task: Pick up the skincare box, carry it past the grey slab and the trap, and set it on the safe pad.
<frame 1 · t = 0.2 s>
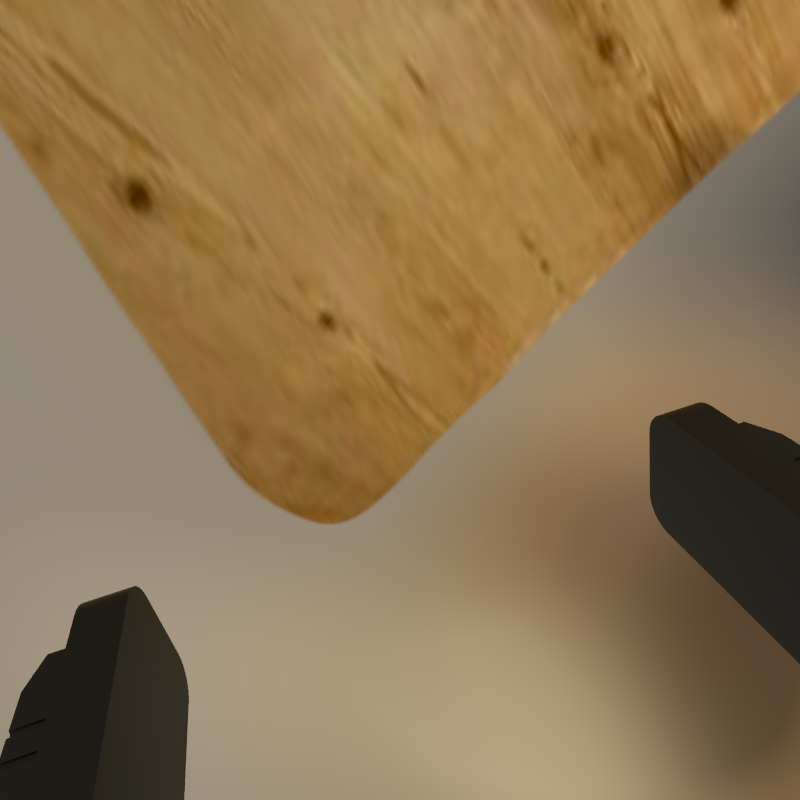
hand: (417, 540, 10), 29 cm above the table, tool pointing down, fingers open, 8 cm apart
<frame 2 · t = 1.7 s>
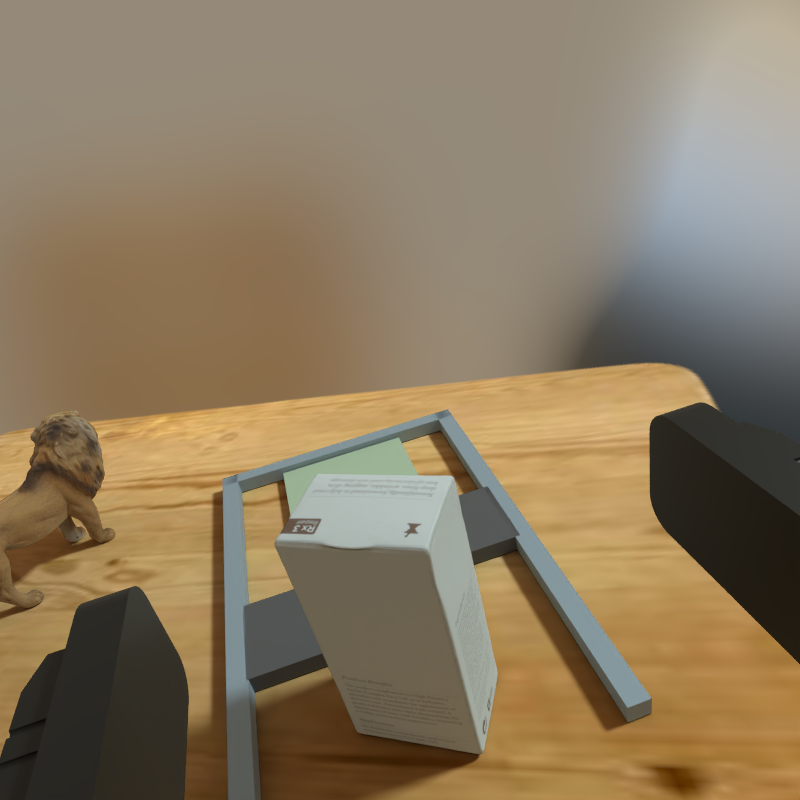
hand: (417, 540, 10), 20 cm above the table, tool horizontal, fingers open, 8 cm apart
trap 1: (295, 637, 34), on the table
lion figurine: (57, 565, 44), on the table
skincare box: (426, 709, 29), on the table
grey slab 2: (466, 534, 38), resting in lane rails
lane rails: (381, 573, 37), on the table
safe pad: (354, 495, 44), resting in lane rails
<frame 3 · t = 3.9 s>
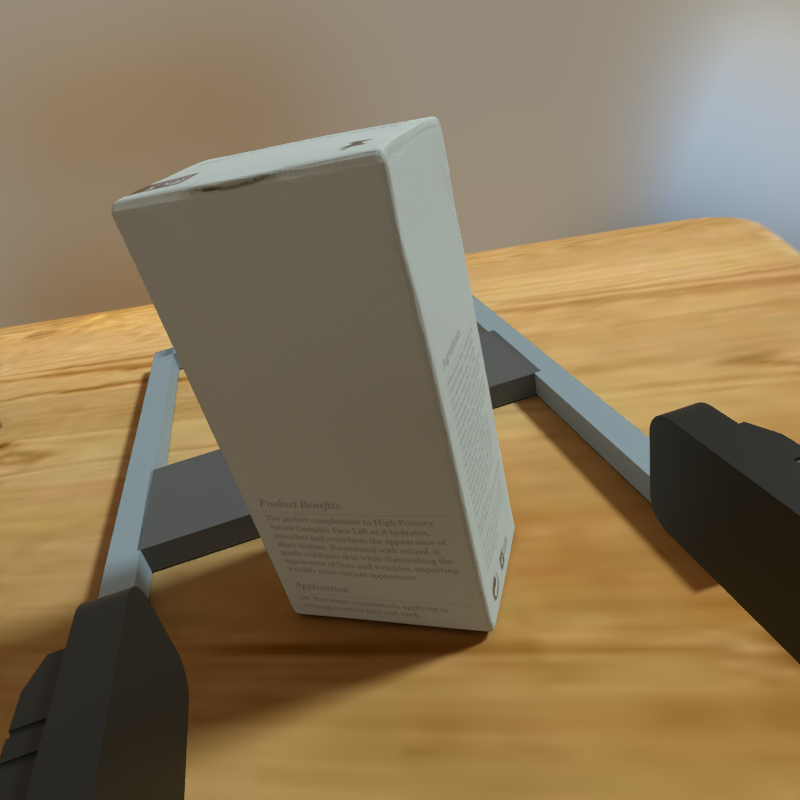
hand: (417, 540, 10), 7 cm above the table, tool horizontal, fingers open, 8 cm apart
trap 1: (222, 506, 24), on the table
skincare box: (404, 580, 19), on the table
grey slab 2: (466, 385, 28), resting in lane rails
lane rails: (348, 431, 26), on the table
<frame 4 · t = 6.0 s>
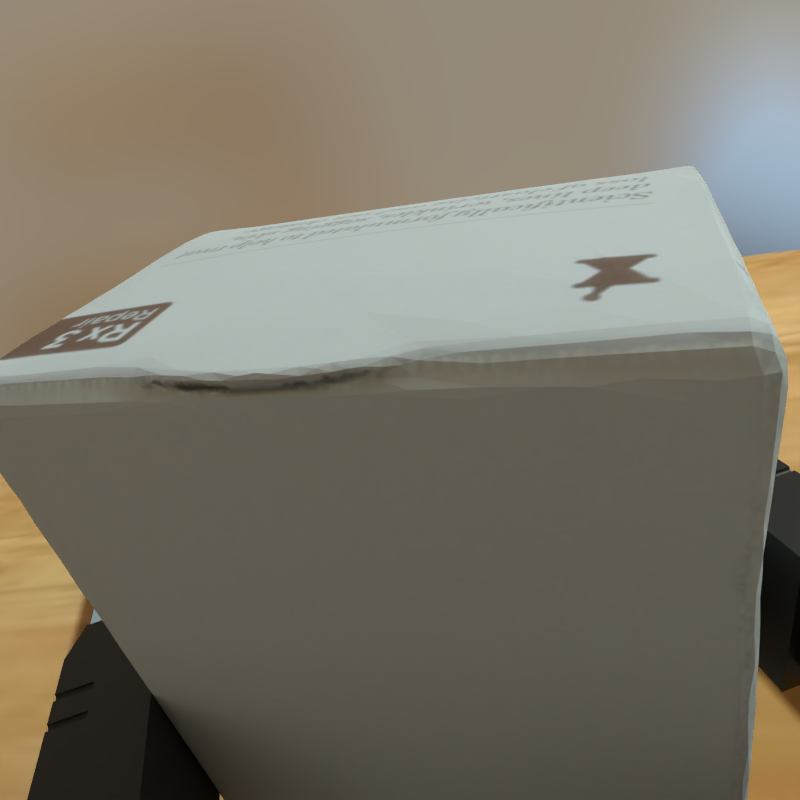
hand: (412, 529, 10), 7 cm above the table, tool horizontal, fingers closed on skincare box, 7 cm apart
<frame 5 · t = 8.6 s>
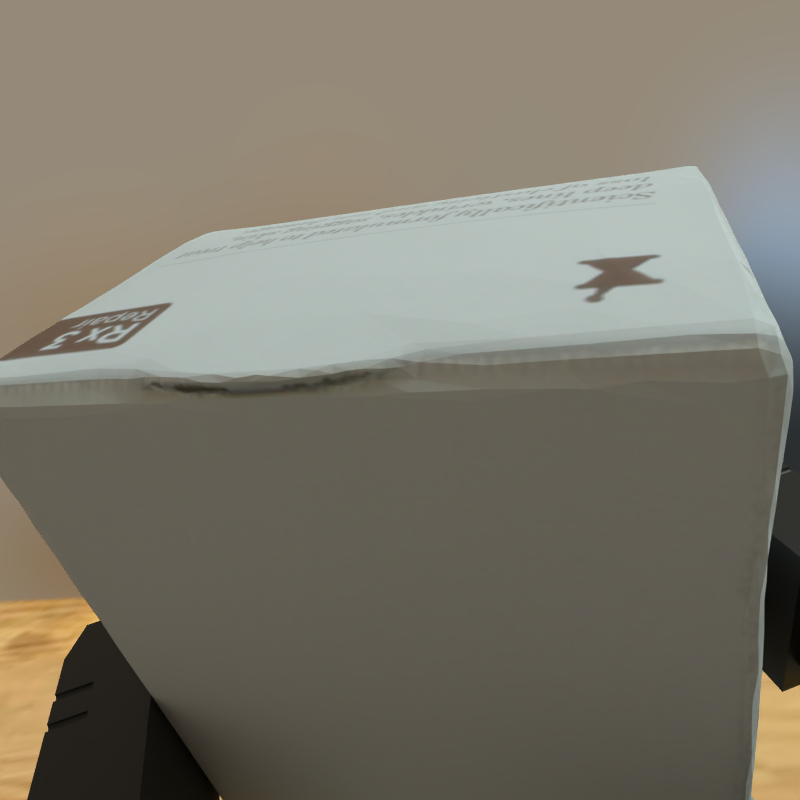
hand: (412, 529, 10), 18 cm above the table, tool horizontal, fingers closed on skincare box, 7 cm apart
when the fingers open (9 cm above the table, at t = 11.3 s): skincare box drops 1 cm, resting on safe pad.
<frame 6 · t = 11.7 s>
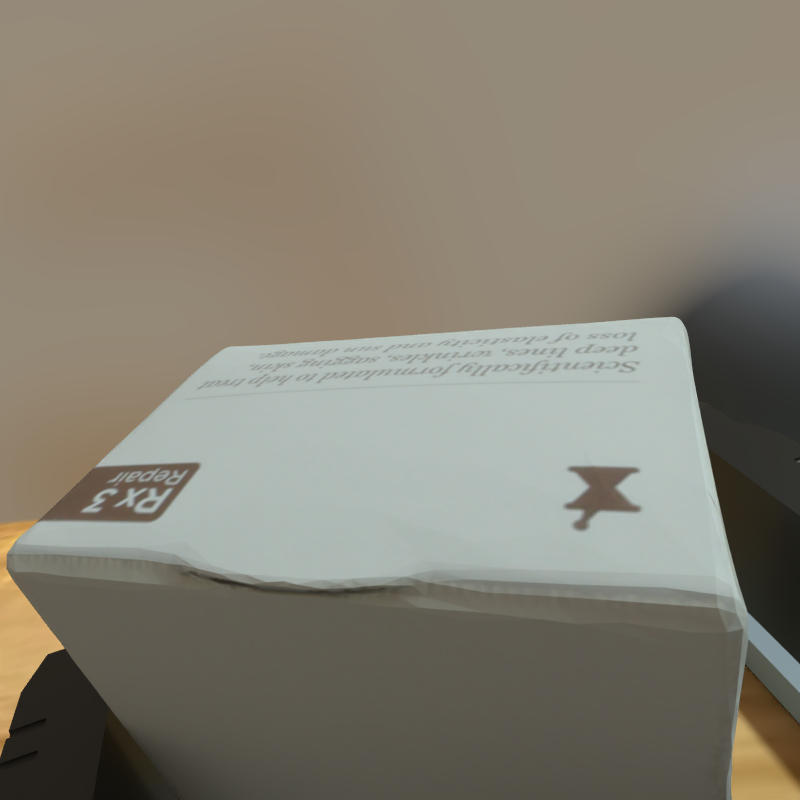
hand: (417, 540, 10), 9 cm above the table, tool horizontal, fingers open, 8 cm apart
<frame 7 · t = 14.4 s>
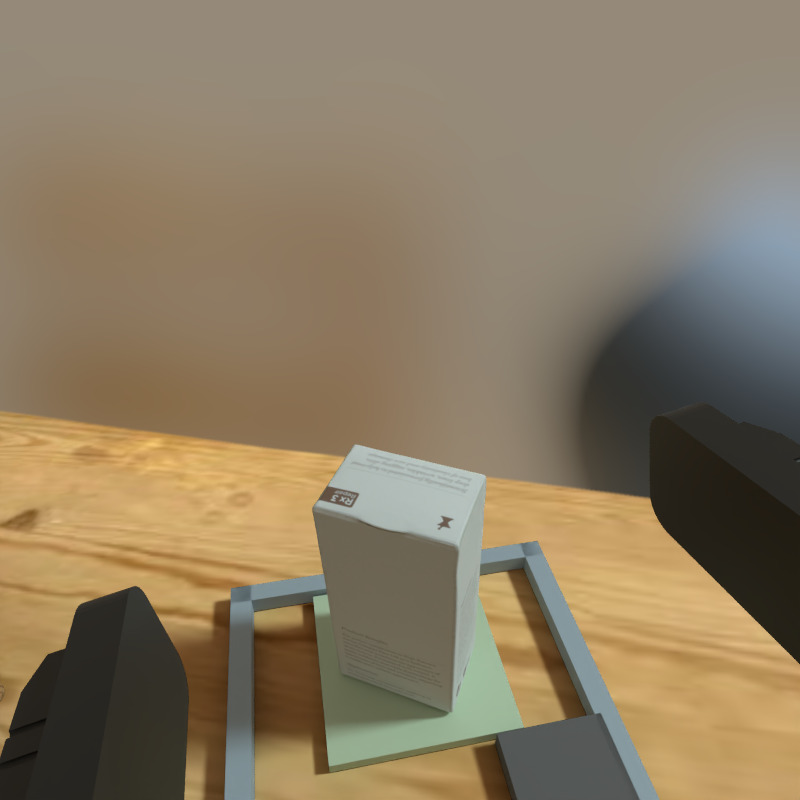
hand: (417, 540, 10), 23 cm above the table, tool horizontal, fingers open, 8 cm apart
skincare box: (405, 662, 32), resting on safe pad
grey slab 2: (567, 791, 27), resting in lane rails
safe pad: (408, 662, 32), resting in lane rails
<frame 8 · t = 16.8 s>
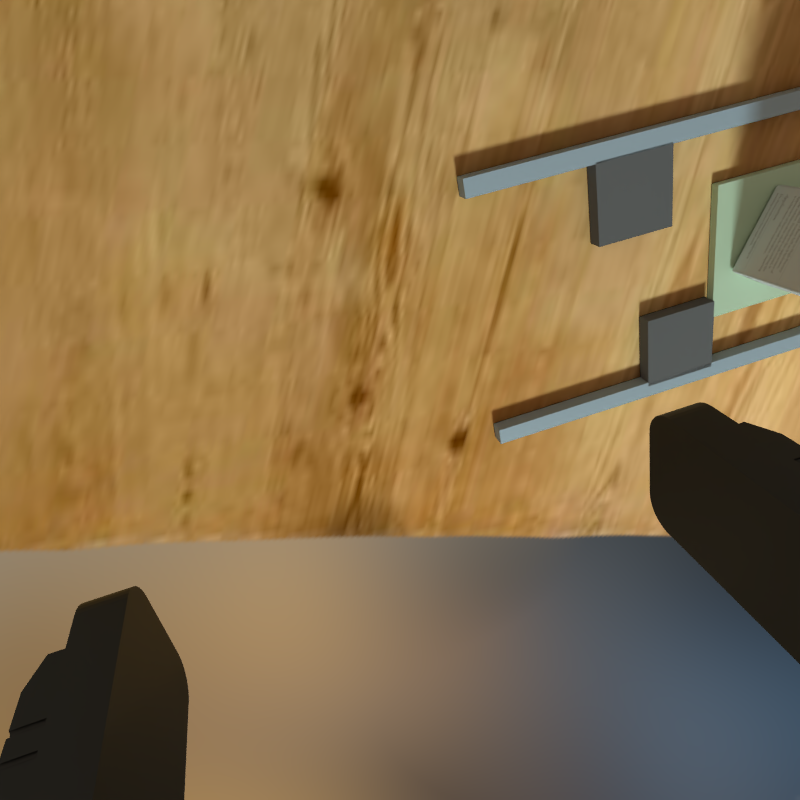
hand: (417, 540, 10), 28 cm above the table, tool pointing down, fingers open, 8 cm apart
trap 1: (626, 193, 39), on the table
skincare box: (770, 233, 42), resting on safe pad
grey slab 2: (671, 339, 44), resting in lane rails
lane rails: (662, 266, 42), on the table
safe pad: (767, 235, 43), resting in lane rails
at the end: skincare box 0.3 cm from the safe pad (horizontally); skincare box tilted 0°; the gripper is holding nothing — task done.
